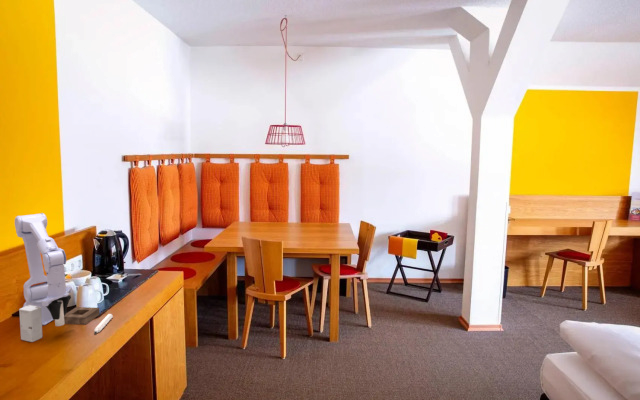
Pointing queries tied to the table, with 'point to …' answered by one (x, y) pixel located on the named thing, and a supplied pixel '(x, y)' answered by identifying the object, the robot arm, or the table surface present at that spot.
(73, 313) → the brown square frame
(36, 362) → the table surface
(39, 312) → the skincare box
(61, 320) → the peg
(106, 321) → the marker
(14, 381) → the table surface
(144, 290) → the table surface
